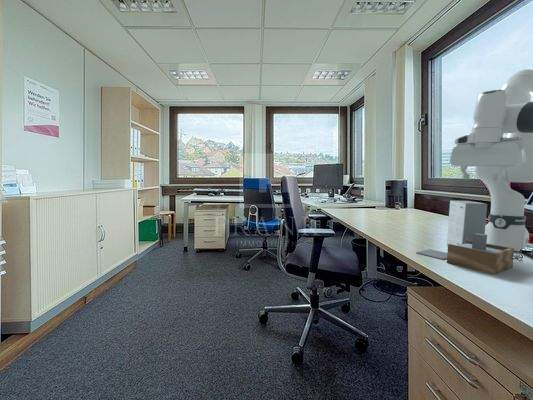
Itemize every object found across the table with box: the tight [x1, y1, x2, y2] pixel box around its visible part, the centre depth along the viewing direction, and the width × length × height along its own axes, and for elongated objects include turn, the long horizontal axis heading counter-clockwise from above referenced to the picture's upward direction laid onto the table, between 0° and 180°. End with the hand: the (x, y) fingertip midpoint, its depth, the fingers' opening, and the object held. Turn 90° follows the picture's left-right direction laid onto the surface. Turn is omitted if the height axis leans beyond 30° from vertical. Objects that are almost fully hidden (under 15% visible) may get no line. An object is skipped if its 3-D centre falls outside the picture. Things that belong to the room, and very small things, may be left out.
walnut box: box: [446, 240, 515, 275], centre depth 101 cm, size 14×14×6 cm
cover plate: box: [458, 233, 501, 253], centre depth 101 cm, size 11×12×6 cm
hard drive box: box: [446, 200, 488, 247], centre depth 121 cm, size 16×8×20 cm, turn 168°
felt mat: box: [415, 248, 447, 261], centre depth 114 cm, size 10×10×1 cm
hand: (480, 179), depth 102 cm, fingers open, 8 cm apart
